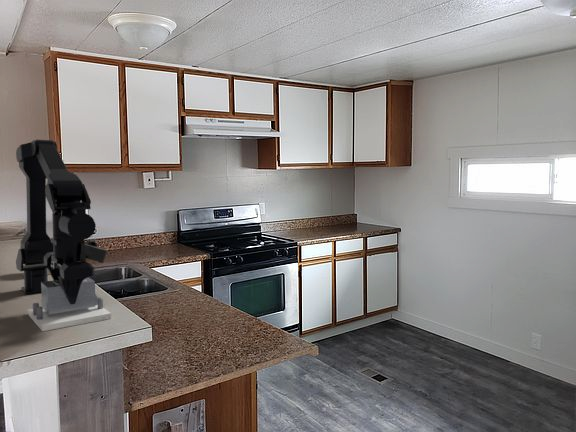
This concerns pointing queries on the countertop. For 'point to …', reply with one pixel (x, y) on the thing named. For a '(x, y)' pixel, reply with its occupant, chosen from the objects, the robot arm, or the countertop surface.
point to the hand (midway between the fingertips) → (68, 300)
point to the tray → (68, 316)
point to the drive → (57, 299)
